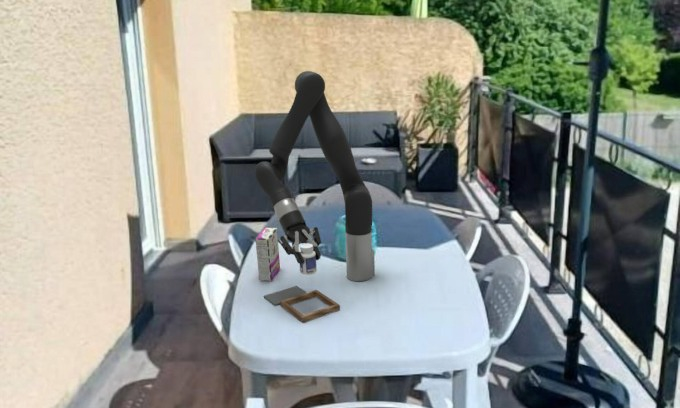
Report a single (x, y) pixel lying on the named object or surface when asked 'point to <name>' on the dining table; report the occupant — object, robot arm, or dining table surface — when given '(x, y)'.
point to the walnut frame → (303, 318)
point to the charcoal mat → (283, 295)
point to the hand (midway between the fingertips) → (310, 261)
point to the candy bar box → (267, 254)
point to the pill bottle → (308, 259)
